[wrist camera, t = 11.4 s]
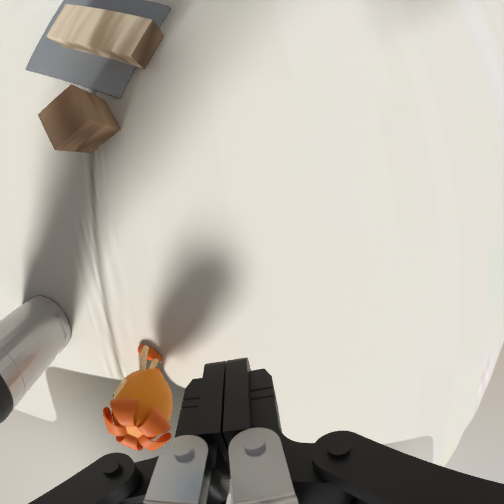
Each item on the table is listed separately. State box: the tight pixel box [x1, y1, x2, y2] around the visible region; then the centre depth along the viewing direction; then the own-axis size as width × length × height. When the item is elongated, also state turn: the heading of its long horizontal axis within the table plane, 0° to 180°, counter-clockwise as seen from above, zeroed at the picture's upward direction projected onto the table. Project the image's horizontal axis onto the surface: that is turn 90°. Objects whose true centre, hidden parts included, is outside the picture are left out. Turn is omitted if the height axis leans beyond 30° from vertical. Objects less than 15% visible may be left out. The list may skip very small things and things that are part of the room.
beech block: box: [47, 4, 163, 69], centre depth 29 cm, size 5×5×14 cm
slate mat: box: [25, 0, 171, 98], centre depth 31 cm, size 18×14×1 cm
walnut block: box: [38, 85, 121, 153], centre depth 30 cm, size 5×5×9 cm
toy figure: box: [103, 344, 173, 451], centre depth 36 cm, size 12×8×15 cm
